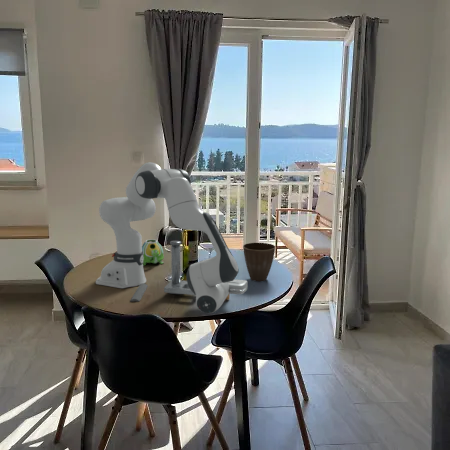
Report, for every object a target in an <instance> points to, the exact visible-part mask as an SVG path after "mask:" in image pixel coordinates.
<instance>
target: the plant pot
mask: <svg viewBox="0 0 450 450" xmlns="http://www.w3.org/2000/svg"><path fill="white" fill-rule="evenodd" d="M242 248H243V255H244V262H245V264H246V269H247V272H248V275H249V278H250V280H251V281H253V282H265V281H267V278H268V276H269V274H270V271H271V267H272V265H273V261H274V257H275V251H276V245H275V244H272V243H269V242H268V243H266V242H250V243H249V242H248V243H244V244H243V246H242Z"/></svg>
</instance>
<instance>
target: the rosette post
mask: <svg viewBox="0 0 450 450" xmlns="http://www.w3.org/2000/svg"><path fill="white" fill-rule="evenodd" d="M169 244H170V245H171V246H170V247H171V251H170V252H171V281H170V282H168V283H167V284H166V285H165V286H164V288H163V291H164V293H168V294H170V295H171V294H173V295H189V296H191V295H192V296H196V295H195V294H194V293H193V292H192V291H191V290H190V288H189V286H188V283H187V280H181V245H182V241H181V240H171V241H170V242H169Z"/></svg>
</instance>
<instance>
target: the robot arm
mask: <svg viewBox="0 0 450 450" xmlns="http://www.w3.org/2000/svg"><path fill="white" fill-rule="evenodd" d="M125 195H126V196H122V197H112V198H108V199H105V200H103V201H102V202H101V203H100V205H99V209H98V212H99V213H98V214H99V216H100V219H101V220H102V221H103V222H105V223H106V224H107V225H109V226H110V228H111V229H112V230H113V232H114V236H115V242H116V251H115V252H113V253H112V255H111V258H113V259H112V260H111V261H110V262H109V263H107V264H106V265H105V266H104V267H103V268H102V270H101V272H100V276H99V277H98V278H97V279H95V284H96V285H98V286H99V285H100V286H105V287H112V288H118V289H126V288H130V287H137V286H138V287H139V285H140V284H142V283H144V284H146V283H147V278H146V275H145V270H144V265H143V251H142V245H143V242H142V241H143V240H142V239H143V237H142V235H141V233H140V232H139V230H136V229H134V228H132V226H131V222H137V221H138V222H139V221H146V220H147V219H151V218H153V217H154V215H155V213H156V212H157V211H156V209H157V208H156V203H155V201H154V199H164V200H165V202H166V207H167V211H168V214H169V217H170V219H171V223H173V225H175V226H176V227H177V228H179V229H181V230H187V231H200V232H203V233H205V234H206V235H207V237H208V239H209V241H210V242H211V245H212V247H213V249H214V251H215V253H216V254H215V256H213V257H209V258H207V259H204V260H200V261H198V262H195V263H191V264H190V265H189V267H188V269H187V272H186V275H185V277H186V281H187V283H188V286H189V288H190V290H191V291H192V292H193V293H194V294H195V295H194V296H195V304H196V307H197V309H198V310H199V311H200V312H201V313H205V314H213V313H215V312H216V311H218V310H219V309H220V308H221V307H222V305H223V304H224V302H225V301H226V300H225V299H226V297H227V296H228V294H229V293H230V294H233V295H243V294H245V292H246V291H247V290H248V288H249V287H248V285H249V284H248V281H247V280H246V279H244V280H243V279H236V278H237V276H238V274H239V264H238V262H237V260H236V258H235V257H234V256H233V254H232V252H231V250H230V249H229V247H228V245H227V243H226V241H225V239H224V237H223V235H222V233H221V231H220V229H219V227H218V225H217V223H216V221H215V219H214V218H213V217H212V216H211V215H210V214H209V213H208V212H205V211H203V210H202V208H201V207H200V205H199V203H198V200H197V197H196V194H195V192H194V189H193V187H192V180H191V177H190V174H189V173H188V172H187V171H186V170H184V169H182V168H161V166H159V164H157V163H156V162H151V161H149V162H145V163H144V164H142V165H141V166H140V167H139V168H138V169H137V171H135V173H134V174H133V176H132V177H131V179H130V181H129V182H128V183H127V186H126V187H125Z"/></svg>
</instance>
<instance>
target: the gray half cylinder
mask: <svg viewBox="0 0 450 450" xmlns="http://www.w3.org/2000/svg"><path fill="white" fill-rule="evenodd" d="M148 287H149V286H148V284H146V283H142V284H140V285H138V287H137V289H136V290H135V292H134V294H133V295H132V297H131V299H130V300H129V302H137V303H138V302H140V301H141V300H142V298H143V296H144V294H145V293H146V290H147V289H148Z"/></svg>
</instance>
